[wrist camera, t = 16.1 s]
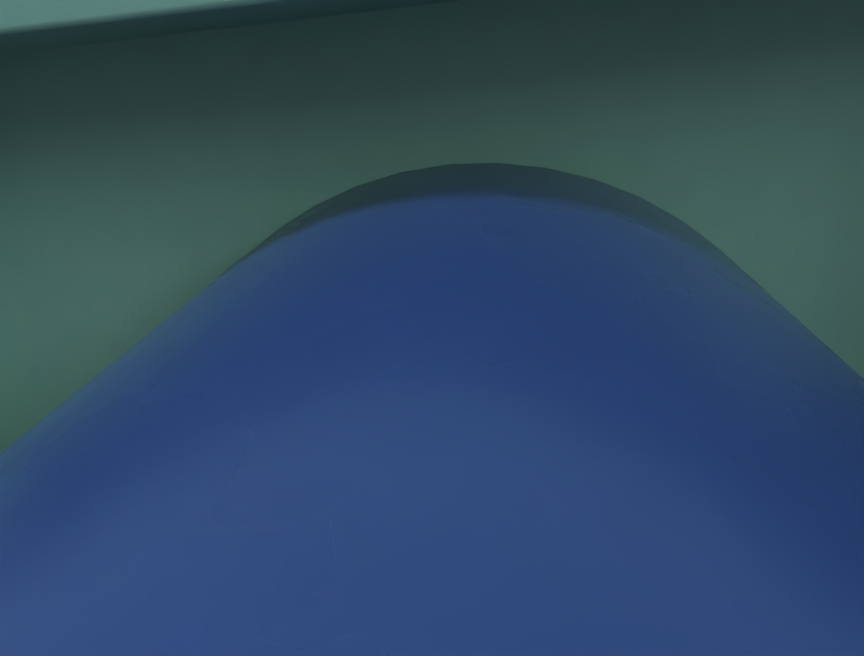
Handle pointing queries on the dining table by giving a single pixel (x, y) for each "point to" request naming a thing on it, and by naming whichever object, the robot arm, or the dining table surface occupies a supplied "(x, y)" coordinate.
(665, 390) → the pot
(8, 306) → the tray
